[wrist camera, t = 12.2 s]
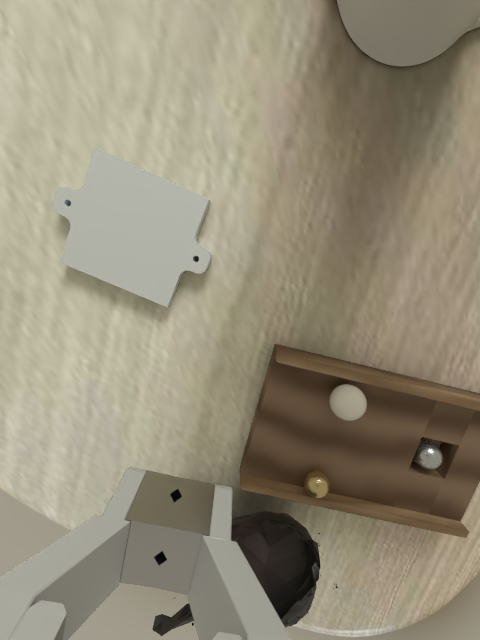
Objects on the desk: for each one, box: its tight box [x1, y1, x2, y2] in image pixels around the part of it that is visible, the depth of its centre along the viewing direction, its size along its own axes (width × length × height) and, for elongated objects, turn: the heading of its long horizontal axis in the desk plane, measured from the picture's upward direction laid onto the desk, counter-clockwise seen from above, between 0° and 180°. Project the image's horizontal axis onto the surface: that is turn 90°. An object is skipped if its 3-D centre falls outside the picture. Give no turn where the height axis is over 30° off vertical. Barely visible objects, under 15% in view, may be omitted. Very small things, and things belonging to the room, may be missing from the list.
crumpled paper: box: [153, 507, 338, 636], centre depth 35 cm, size 14×15×20 cm
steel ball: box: [413, 441, 443, 470], centre depth 38 cm, size 3×3×3 cm
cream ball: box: [329, 384, 367, 421], centre depth 33 cm, size 4×4×4 cm
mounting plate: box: [53, 147, 212, 307], centre depth 33 cm, size 18×13×2 cm
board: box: [240, 344, 480, 538], centre depth 37 cm, size 18×30×4 cm, turn 76°
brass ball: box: [304, 470, 330, 498], centre depth 36 cm, size 3×3×3 cm
